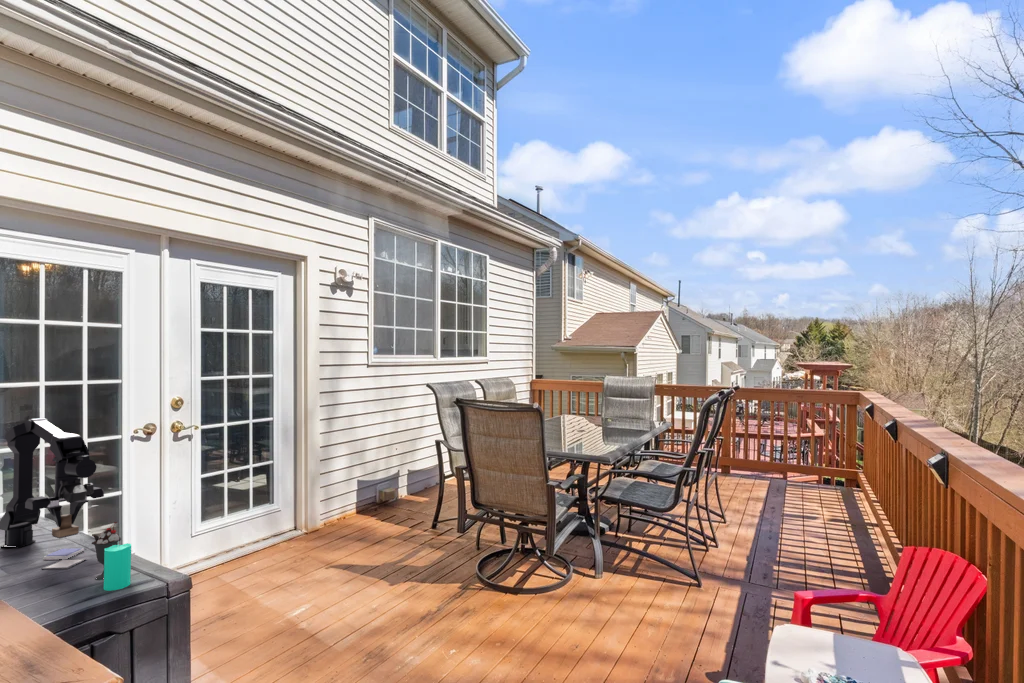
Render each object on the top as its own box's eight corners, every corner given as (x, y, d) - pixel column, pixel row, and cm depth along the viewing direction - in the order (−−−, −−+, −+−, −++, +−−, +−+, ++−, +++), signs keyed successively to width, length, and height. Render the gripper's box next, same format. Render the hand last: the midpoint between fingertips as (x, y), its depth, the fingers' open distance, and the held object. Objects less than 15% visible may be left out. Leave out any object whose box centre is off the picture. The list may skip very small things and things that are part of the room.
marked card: (41, 569, 157) (41, 568, 157) (62, 560, 165) (62, 559, 165) (67, 569, 157) (67, 568, 157) (86, 559, 165) (86, 558, 165)
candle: (136, 581, 147) (137, 537, 148) (118, 591, 141) (119, 545, 142) (116, 581, 148) (117, 537, 148) (97, 590, 142) (98, 544, 142)
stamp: (51, 536, 168) (52, 516, 168) (71, 531, 172) (71, 512, 173) (59, 538, 166) (59, 518, 166) (78, 534, 170) (79, 514, 170)
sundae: (126, 573, 154) (127, 520, 154) (101, 582, 147) (103, 527, 148) (110, 570, 156) (111, 518, 156) (85, 579, 149) (86, 525, 150)
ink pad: (43, 559, 165) (43, 555, 165) (62, 551, 172) (62, 548, 172) (66, 559, 165) (66, 555, 165) (84, 551, 172) (84, 547, 172)
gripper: (41, 483, 158) (40, 537, 157) (113, 472, 174) (112, 520, 173) (25, 480, 163) (23, 532, 162) (96, 469, 180) (94, 516, 179)
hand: (65, 525), depth 169 cm, fingers closed on stamp, 3 cm apart
